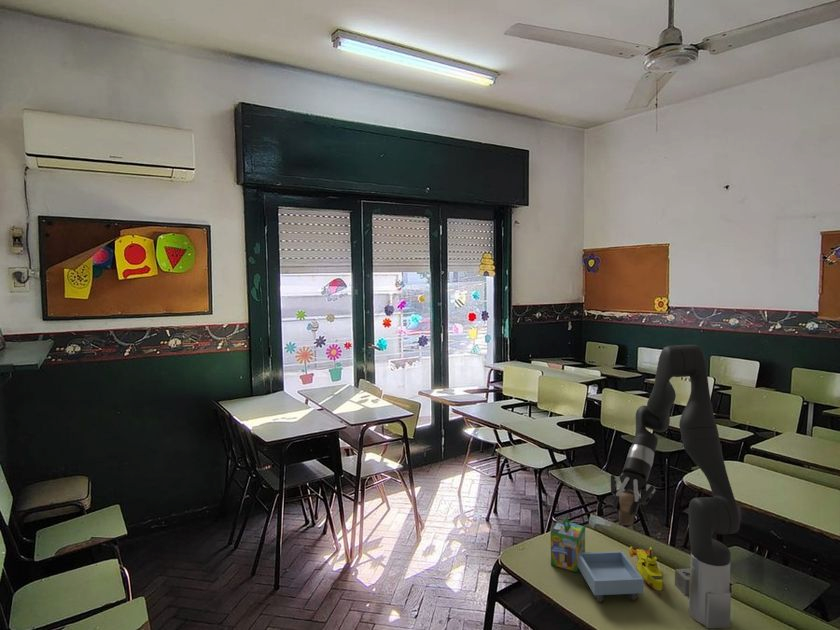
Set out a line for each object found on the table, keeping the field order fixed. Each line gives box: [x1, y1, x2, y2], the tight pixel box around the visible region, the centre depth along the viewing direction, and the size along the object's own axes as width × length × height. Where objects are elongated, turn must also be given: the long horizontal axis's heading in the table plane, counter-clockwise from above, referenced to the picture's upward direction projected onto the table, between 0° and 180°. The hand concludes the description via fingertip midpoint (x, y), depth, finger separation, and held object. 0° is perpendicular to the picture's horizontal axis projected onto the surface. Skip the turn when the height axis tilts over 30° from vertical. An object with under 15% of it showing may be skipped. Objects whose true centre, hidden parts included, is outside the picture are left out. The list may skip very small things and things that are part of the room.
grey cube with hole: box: [674, 567, 690, 597], centre depth 146 cm, size 5×5×5 cm
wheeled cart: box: [577, 550, 645, 603], centre depth 147 cm, size 14×14×7 cm
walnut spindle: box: [618, 491, 635, 526], centre depth 155 cm, size 4×4×9 cm
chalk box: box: [550, 514, 586, 574], centre depth 160 cm, size 9×9×15 cm
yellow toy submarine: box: [629, 546, 664, 591], centre depth 151 cm, size 6×18×10 cm, turn 174°
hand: (624, 511), depth 153 cm, fingers closed on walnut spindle, 4 cm apart
